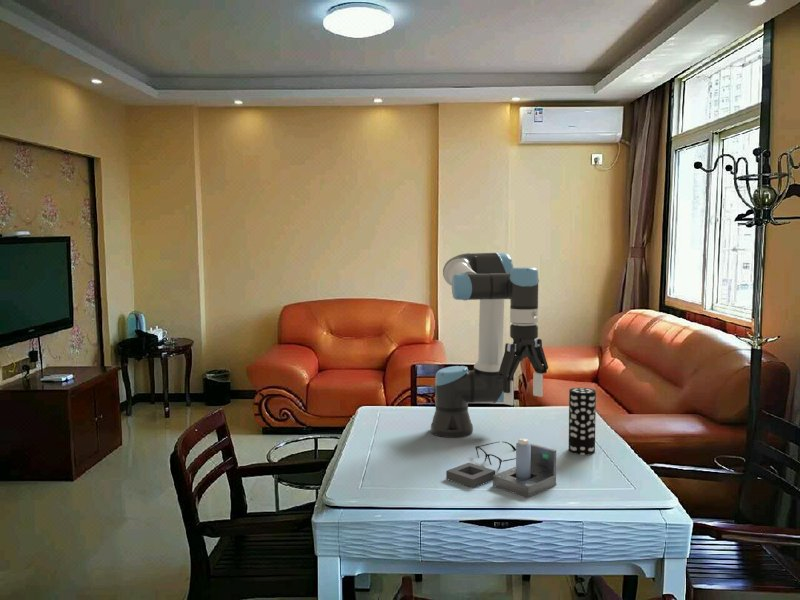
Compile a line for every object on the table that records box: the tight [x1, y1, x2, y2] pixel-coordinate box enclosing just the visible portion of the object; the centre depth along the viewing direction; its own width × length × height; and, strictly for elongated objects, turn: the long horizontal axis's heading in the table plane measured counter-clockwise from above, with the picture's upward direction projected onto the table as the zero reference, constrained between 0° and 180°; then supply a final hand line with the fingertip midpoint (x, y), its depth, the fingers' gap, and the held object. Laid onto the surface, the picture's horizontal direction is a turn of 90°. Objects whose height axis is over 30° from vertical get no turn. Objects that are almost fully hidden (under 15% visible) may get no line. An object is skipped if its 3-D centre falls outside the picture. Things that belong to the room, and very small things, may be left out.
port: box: [492, 443, 557, 499], centre depth 186 cm, size 12×13×10 cm
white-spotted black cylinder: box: [568, 387, 597, 456], centre depth 215 cm, size 8×8×20 cm
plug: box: [515, 438, 532, 481], centre depth 185 cm, size 4×4×13 cm
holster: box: [445, 462, 496, 489], centre depth 192 cm, size 10×10×2 cm
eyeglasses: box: [474, 441, 516, 470], centre depth 208 cm, size 16×16×4 cm
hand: (523, 400), depth 184 cm, fingers open, 13 cm apart
